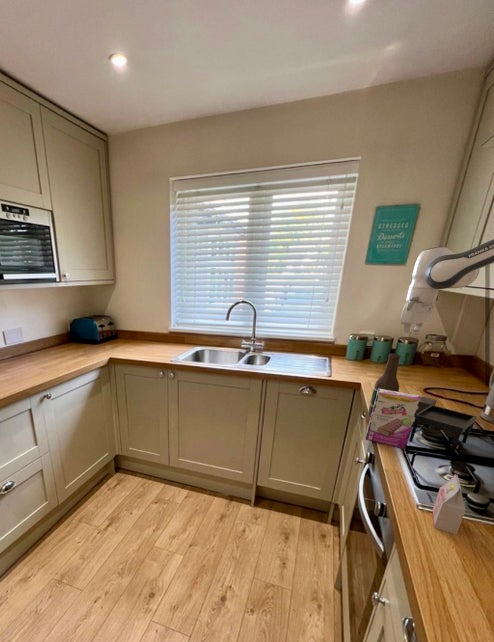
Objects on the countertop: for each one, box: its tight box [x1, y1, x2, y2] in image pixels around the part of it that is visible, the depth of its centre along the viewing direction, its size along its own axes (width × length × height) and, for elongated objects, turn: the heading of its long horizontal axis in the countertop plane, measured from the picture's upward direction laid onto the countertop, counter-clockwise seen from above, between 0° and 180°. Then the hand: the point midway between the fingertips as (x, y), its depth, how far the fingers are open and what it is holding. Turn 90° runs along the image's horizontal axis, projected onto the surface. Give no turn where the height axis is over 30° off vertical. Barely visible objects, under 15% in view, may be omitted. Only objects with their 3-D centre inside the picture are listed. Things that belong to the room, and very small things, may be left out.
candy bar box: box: [365, 389, 421, 450], centre depth 101 cm, size 11×5×16 cm, turn 59°
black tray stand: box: [408, 405, 477, 456], centre depth 104 cm, size 12×15×9 cm
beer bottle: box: [367, 352, 402, 419], centre depth 119 cm, size 8×8×24 cm
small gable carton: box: [432, 473, 467, 535], centre depth 68 cm, size 4×7×10 cm, turn 147°
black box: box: [417, 396, 438, 413], centre depth 128 cm, size 5×8×5 cm, turn 129°
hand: (411, 335), depth 123 cm, fingers open, 8 cm apart
